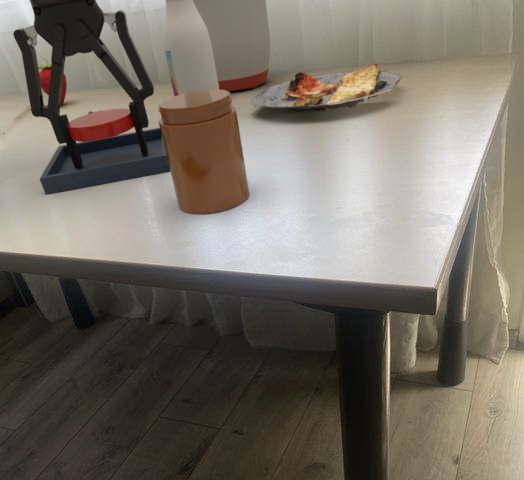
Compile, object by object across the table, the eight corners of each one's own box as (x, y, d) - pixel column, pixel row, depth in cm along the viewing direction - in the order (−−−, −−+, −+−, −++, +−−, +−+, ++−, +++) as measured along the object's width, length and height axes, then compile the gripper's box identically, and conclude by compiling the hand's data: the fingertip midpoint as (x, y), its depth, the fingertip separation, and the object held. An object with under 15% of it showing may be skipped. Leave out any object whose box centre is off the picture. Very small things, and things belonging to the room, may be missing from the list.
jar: (179, 219, 56) (154, 114, 50) (177, 193, 62) (155, 97, 56) (253, 205, 56) (237, 99, 50) (244, 181, 63) (229, 84, 56)
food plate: (286, 87, 102) (284, 66, 99) (411, 78, 93) (411, 56, 91) (234, 125, 84) (230, 102, 82) (382, 119, 75) (382, 92, 73)
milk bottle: (230, 109, 93) (208, -30, 81) (209, 122, 88) (182, -24, 76) (193, 110, 97) (167, -23, 85) (171, 123, 91) (139, -17, 79)
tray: (45, 194, 69) (39, 178, 68) (63, 160, 82) (58, 146, 80) (171, 170, 70) (167, 154, 69) (169, 140, 82) (166, 126, 81)
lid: (58, 140, 73) (53, 126, 72) (108, 120, 78) (104, 107, 77) (98, 143, 68) (93, 128, 67) (148, 122, 73) (144, 108, 72)
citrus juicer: (197, 85, 116) (176, -26, 104) (276, 73, 114) (264, -41, 102) (187, 101, 103) (161, -23, 92) (275, 89, 101) (260, -40, 90)
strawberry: (47, 111, 116) (28, 60, 110) (48, 105, 122) (31, 56, 116) (74, 105, 117) (57, 54, 111) (74, 99, 123) (58, 51, 117)
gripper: (-51, -20, 58) (31, 182, 72) (142, -54, 59) (187, 151, 73) (-31, -21, 64) (41, 165, 78) (144, -52, 65) (185, 138, 79)
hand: (112, 158), depth 75 cm, fingers closed on lid, 9 cm apart
